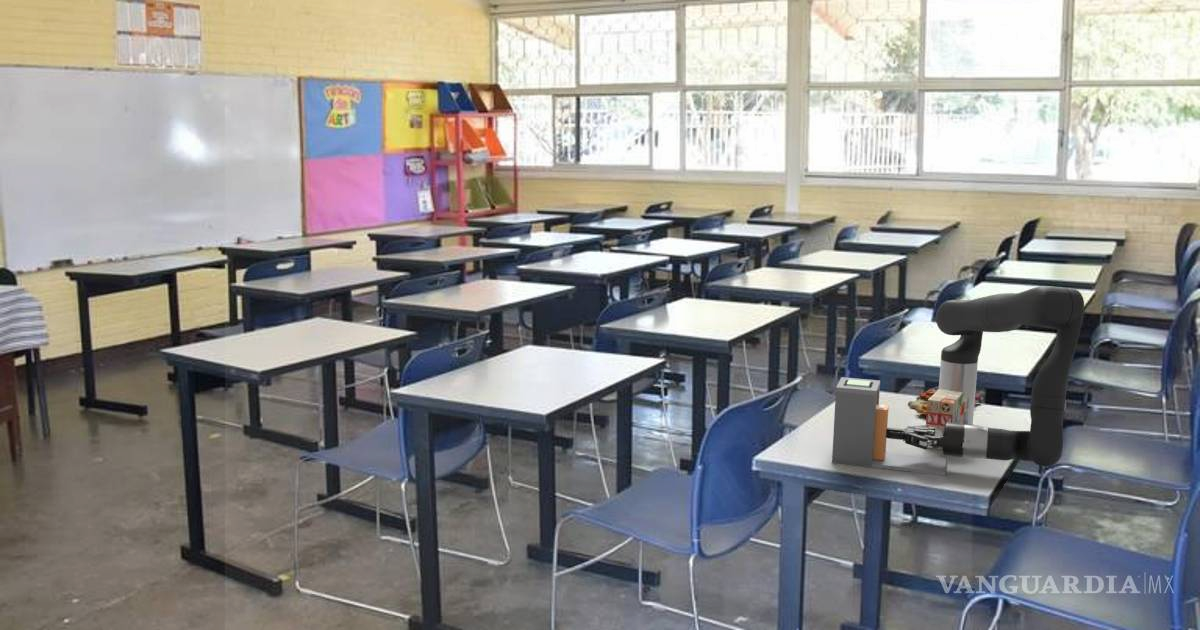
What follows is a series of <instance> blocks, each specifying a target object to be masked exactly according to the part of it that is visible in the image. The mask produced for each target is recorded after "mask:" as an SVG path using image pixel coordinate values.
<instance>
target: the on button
mask: <svg viewBox="0 0 1200 630" xmlns="http://www.w3.org/2000/svg"><path fill="white" fill-rule="evenodd" d="M870 383H871V381H862V380H851V379H849V380H848V382H847V384H846V386H854V387H865V388H870Z"/></svg>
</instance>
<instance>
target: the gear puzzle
mask: <svg viewBox="0 0 1200 630" xmlns="http://www.w3.org/2000/svg"><path fill="white" fill-rule="evenodd" d="M938 389H939V386H935V387H932V388H929V389H928V390H926V391H925V392H921V393H919V395H918V396H916V398H915V399H916V400H915V401H913V400H910V401H908V402H907V405H908V406H909V408H911V409H914V410H915V412H916V413H917V414H922V415H924V416H926V415H927V402H928V399H929V398H930V397H931V396H932V395H933V394H935V393H936V391H937V390H938ZM983 399H984V397H983V395H982V394H981V393H979V392H977V391H976V392H975V404H974V406H975V405H976V404H979V401H983Z"/></svg>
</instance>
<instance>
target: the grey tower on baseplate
mask: <svg viewBox="0 0 1200 630" xmlns="http://www.w3.org/2000/svg"><path fill="white" fill-rule="evenodd" d="M849 379H851V380H862V381H871V383H870V388H865V387H854V386H846V384H847V382H848V380H849ZM880 390H881V380H876V379H866V378H865V379H864V378H857V377H856V378H855V377H845V376H843V377H840V378H839V381H838V383H837V385H836V386H835V400H834V401H835V402H834V418H833V433H832V434H833V435H832V436H833V438H832V455H831V464H832V463H833V464H840V465H847V466H849V465H850V466H858V467H865V466H866V468H873V467H877V468H876V469H882V468H885V469H884V470H891V469H894V470H893V471H899V470H902V471H901V472H908V471H912V472H911V473H917V472H919V473H918V474H927V475H935V476H946V468H947V458H946V457H938V456H929V455H928V456H927V455H919V454H909V453H899V452H889V451H886V455H885V459H884V460H877V459H873V451H874V435H875V419H876V404H880V393H881V392H880Z"/></svg>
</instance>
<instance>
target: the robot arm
mask: <svg viewBox="0 0 1200 630" xmlns="http://www.w3.org/2000/svg"><path fill="white" fill-rule="evenodd" d="M1084 314H1085V301H1084V296H1083V294H1082V293H1081V292H1080V291H1079V290H1077V289H1076V288H1071V287H1062V286H1049V285H1041V286H1036V287H1033V288H1032V287H1031V288H1029V289H1026V290H1024V291H1020V292H1016V293H1015V292H1005V293H997V294H990V295H987V296H982V297H978V298H974V299H951V300H946V301H943V302H942V303H941V304H940V305H939V306H938V308H937V310H936V314H935V322H936V325H937V328H938V329H939V331H941V332H942V333H943V334H945V335H949V336H960V337H959V339H957V340H956V341H955V342H954V343H952V344H950V345H947V346H945V347H943V348H942V349H941V354H940V363H939V364H940V366H939V367H940V368H939V380H938V381H939V382H938V387H939V389H941V390H949V391H957V392H963V396H969V404H968V408H969V411H968V424H957V423H945V425H944V430H938V429H935V428H934V427H930V426H929V425H926V424H921V425H911V426H909V425H908V426H907V427H905V428H897V427H887V430H886V438H887V439H891V440H898V441H899V440H902V442H904V443H905V444H906V445H909V446H912V447H916V448H919V449H922V450H928V448H929V449H935V448H934V447H942V448H943V449H942V450H941V451H942V455H943V456H947V457H957V458H965V459H973V460H974V459H975V460H977V459H988V460H996V461H997V460H998V461H1011V460H1017V461H1024V462H1031V463H1032V462H1033V463H1034V464H1036V465H1038V466H1040V467H1051V466H1054V465H1056V463H1058V462H1059V461H1060V459H1061V457H1062V455H1063V446H1064V417H1065V410H1066V401H1067V398H1066V397H1067V391H1068V390H1067V389H1068V380H1069V377H1070V375H1069V374H1070V371H1071V367H1072V363H1073V359H1074V355H1075V353H1076V352H1075V351H1076V347H1077V345H1078V340H1079V337H1080V332H1081V329H1082V325H1083V320H1084ZM1025 325H1026V326H1032V327H1038V328H1043V329H1044V328H1045V329H1057V333H1056V339H1055V340H1056V341H1055V343H1054V346H1053V348H1052V351H1051V352H1050V354H1049V356H1048V357H1047V359H1046V360H1045V361H1044V362H1043V364H1042V365H1041V367H1040V368H1039V369H1038V371H1037V373H1036V375H1035V377H1034V380H1033V381H1032V382H1033V383H1032V387H1031V395H1030V396H1031V397H1030V407H1029V409H1030V419H1031V421H1030V429H1029V430H1010V429H1005V428H994V427H986V426H980V425H976V424H974V416H975V415H974V413H975V405H976V404H975V392H976V393H977V391H976V388H977V378H978V364H979V363H978V362H979V356H980V353H981V351H982V350H981V349H982V341H983V334H984V333H1005V332H1006V333H1007V332H1011V331H1015V330H1017V329H1019V328H1021V327H1022V326H1025ZM974 404H975V405H974Z"/></svg>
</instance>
